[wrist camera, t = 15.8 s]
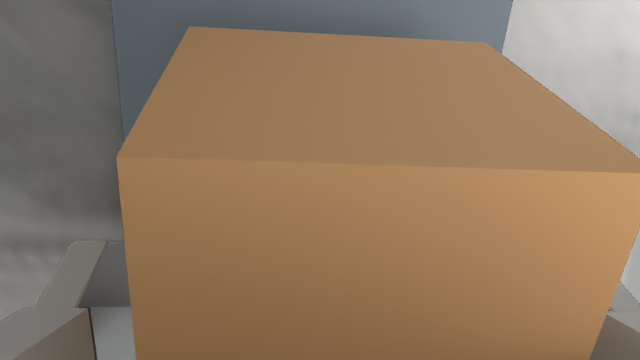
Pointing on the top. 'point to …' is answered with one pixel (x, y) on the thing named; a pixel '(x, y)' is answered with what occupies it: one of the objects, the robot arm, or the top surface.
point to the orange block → (367, 204)
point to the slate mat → (283, 29)
